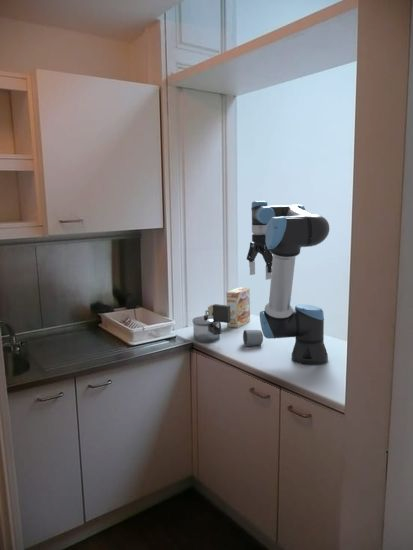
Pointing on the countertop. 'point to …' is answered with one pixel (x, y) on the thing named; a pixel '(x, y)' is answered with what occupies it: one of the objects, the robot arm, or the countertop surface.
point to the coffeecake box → (239, 306)
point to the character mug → (211, 313)
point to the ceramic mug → (252, 337)
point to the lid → (215, 316)
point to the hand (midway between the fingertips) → (260, 276)
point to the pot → (206, 333)
